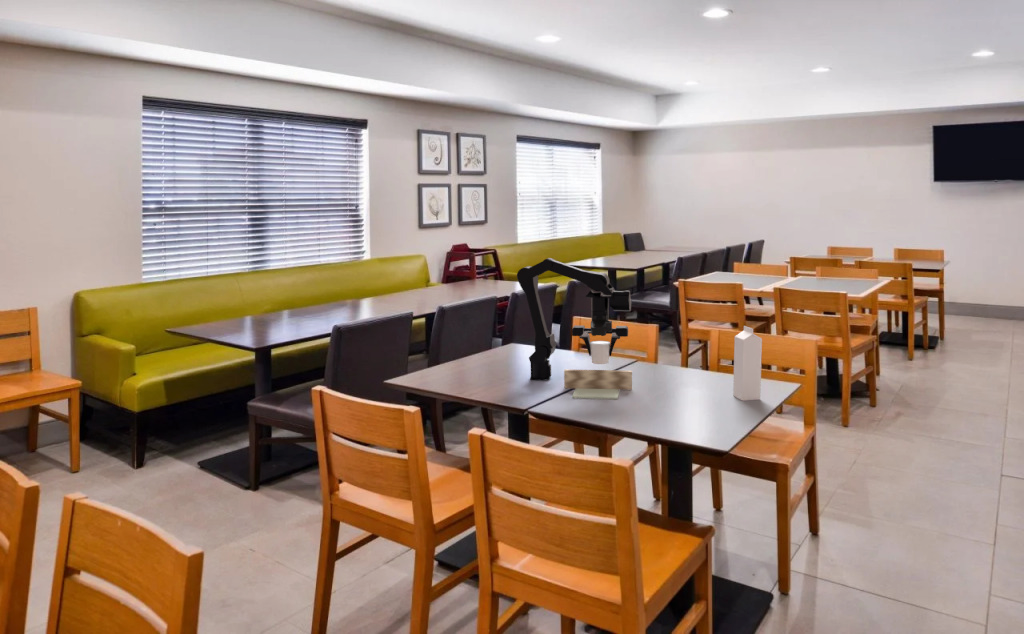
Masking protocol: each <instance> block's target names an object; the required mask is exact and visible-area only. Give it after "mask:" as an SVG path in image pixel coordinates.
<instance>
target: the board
mask: <svg viewBox="0 0 1024 634" xmlns="http://www.w3.org/2000/svg"><path fill="white" fill-rule="evenodd" d="M563 373H564V375H563V380H564V382H563V383H564V384H563V385H564V388H563V389H576V388H582V389H619V390H621V389H623V390H624V391H625V390H627V391H628V390H633V370H616V369H615V370H614V369H571V368H570V369H564V370H563Z"/></svg>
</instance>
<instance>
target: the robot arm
mask: <svg viewBox="0 0 1024 634" xmlns="http://www.w3.org/2000/svg"><path fill="white" fill-rule="evenodd" d="M547 272H551V273H555V274H557V275H559V276H562V277H563V276H564V277H566V278H569V279H571V280H575V281H578V282H579V283H581V284H583V285H584V286H585V287H588V288H590V290H589V292H588V293H587V294H585V298H591V301H590V302H591V305H590V306H591V321H590V328H589V327H586V326H585V325H577V324H575V325H574V326H573V327H572V328H571V337H579V339H582V340H583V342H584V344H585V347H586V349H587V352H588V355H589V357H591V347H590V342H591V338H590V336H591V335H592V337H593V336H594V337H596V336H601V337H605V336H606V335H608V334H610V335H611V338H610V352H609V357H611V356H612V353H613V351H614V346H615V345H616V342H617V341H618V340H620V339H621V338H623V337H624V338H627V337H628V336H629V327H628V326H627V325H616V326H615V327H616V328H614V327H613V321H612V320H610V319H609V318H610V317H609V315H610V312H609V308H610V309H612V311H613V312H631V311H632V299H631V296H632V295H631V290H616V289H615V288H614V287H613V285H612V284H611V283H610V278H609V276H608V274H606V273H605V272H599V271H595V270H594V271H592V270H584V269H581V268H578V267H575V266H573V265H570V264H567V263H564V262H561V261H558V260H557V259H554V258H551V257H548V258H545V259H544V260H542V261H540V262H538V263H536V264H533V265H531V266H530V265H527V266H525V267H522V268H520V269H519V270H518V271H517V273H516V278H517V281H518V283H519V286H520V288H521V290H522V291H523V293H524V295H525V296H526V302H527V306H528V310H529V314H530V318H531V322H532V326H533V330H534V352H533V353H531V355H530V356H529V357H528V359H529V360H528V361H529V363H530V378H529V380H530V381H549V380H550V378H551V377H552V364H551V363H550V357H551V356H552V355H553V354H554V353H555V351H556V346H557V345H558V344H557V342H556V340H555V333H552V334H551V333H550V332H549V330H548V327H547V324H546V323H547V322H546V320H545V317H544V315H545V314H544V312H543V307H542V304H541V303H542V302H541V299H540V294H539V276H541V275H543V274H544V273H547ZM590 334H591V335H590Z"/></svg>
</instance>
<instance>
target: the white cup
mask: <svg viewBox="0 0 1024 634" xmlns="http://www.w3.org/2000/svg"><path fill="white" fill-rule="evenodd" d="M610 344H611V341H607V340H593V341H590V347H591V356H590V357H591V363H592V364H594V365H607V364H609V361H610V355H609V352H610Z"/></svg>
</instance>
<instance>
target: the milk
mask: <svg viewBox="0 0 1024 634" xmlns="http://www.w3.org/2000/svg"><path fill="white" fill-rule="evenodd" d="M733 343H734V345H733V346H734V350H733V389H732V391H733V393H732V395H733V397H734V398H737V400H740V401H742V402H744V401H746V402H747V401H755V400H756V401H757V400H758V401H759V400H761V390H762V389H761V386H762V354H763V352H762V350H763V349H762V348H763V338H762V337H760V336H758V335H756V334H754V328H752V327H749V326H746V325H743V330H742V331H740V332H739V333H738V334H735V335H734V342H733Z"/></svg>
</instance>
